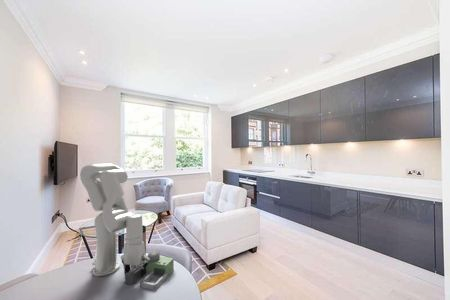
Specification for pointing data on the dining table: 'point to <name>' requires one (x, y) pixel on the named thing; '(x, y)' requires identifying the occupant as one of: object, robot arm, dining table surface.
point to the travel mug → (144, 237)
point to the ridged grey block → (133, 275)
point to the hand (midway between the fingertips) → (135, 274)
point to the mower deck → (157, 269)
